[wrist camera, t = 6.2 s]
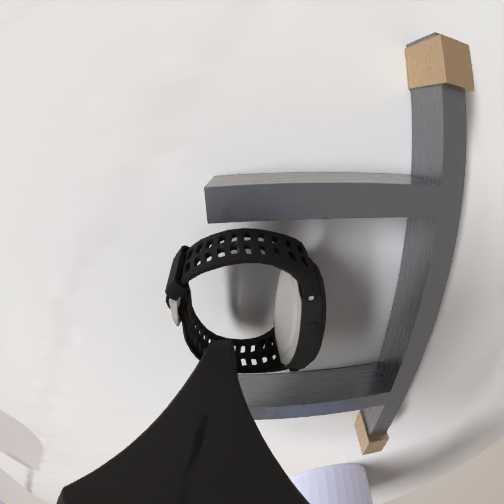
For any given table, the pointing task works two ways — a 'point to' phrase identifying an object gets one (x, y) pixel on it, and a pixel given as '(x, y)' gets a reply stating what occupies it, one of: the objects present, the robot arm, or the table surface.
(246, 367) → the smartwatch
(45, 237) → the table surface
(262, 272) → the table surface
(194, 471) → the robot arm
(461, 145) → the bracket
